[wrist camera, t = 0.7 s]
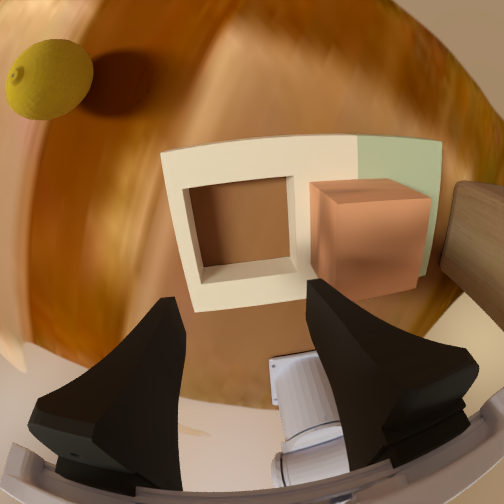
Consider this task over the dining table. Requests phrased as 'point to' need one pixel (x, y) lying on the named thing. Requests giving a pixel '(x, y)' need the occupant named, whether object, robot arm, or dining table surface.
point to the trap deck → (297, 179)
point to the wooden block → (477, 245)
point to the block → (367, 235)
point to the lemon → (49, 79)
